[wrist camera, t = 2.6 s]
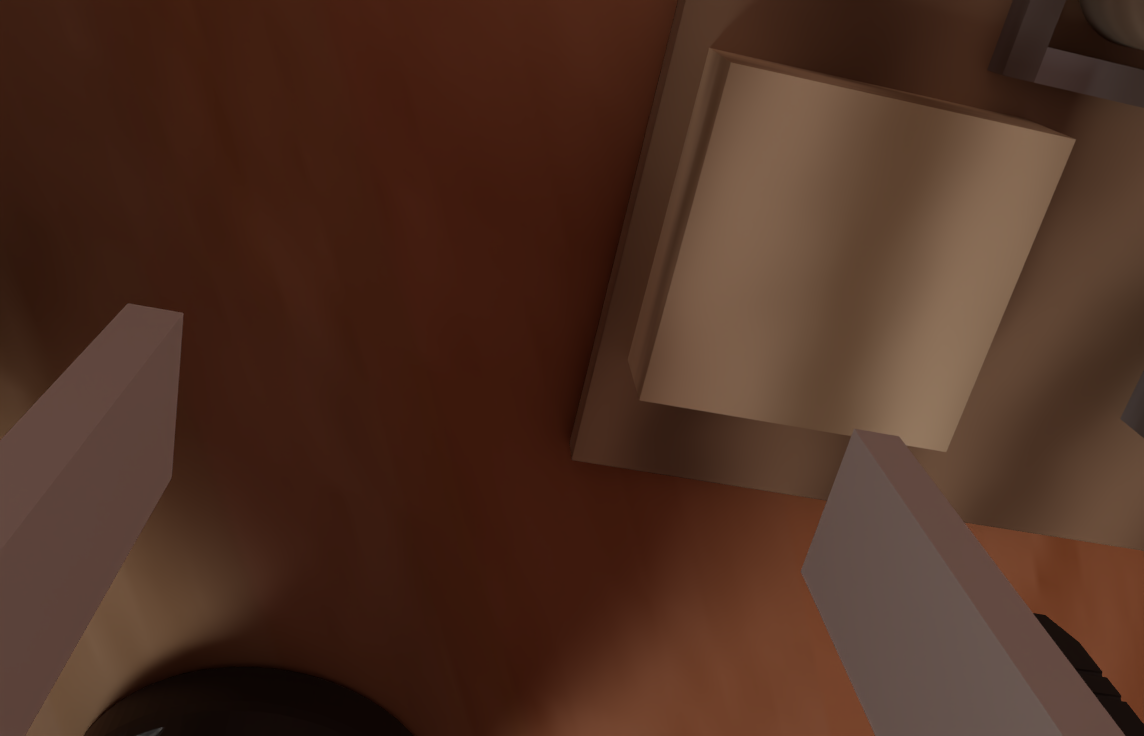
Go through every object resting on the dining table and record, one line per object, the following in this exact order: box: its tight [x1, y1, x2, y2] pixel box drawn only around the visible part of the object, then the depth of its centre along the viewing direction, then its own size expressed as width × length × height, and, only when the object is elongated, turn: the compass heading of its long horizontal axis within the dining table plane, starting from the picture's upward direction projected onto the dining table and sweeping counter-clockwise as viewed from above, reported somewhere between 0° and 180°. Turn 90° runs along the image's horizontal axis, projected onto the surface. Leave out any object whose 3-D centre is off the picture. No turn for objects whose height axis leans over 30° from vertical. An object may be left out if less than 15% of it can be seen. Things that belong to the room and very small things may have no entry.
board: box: [569, 0, 1144, 551], centre depth 30 cm, size 22×22×6 cm
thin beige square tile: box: [628, 48, 1076, 452], centre depth 31 cm, size 10×10×3 cm
